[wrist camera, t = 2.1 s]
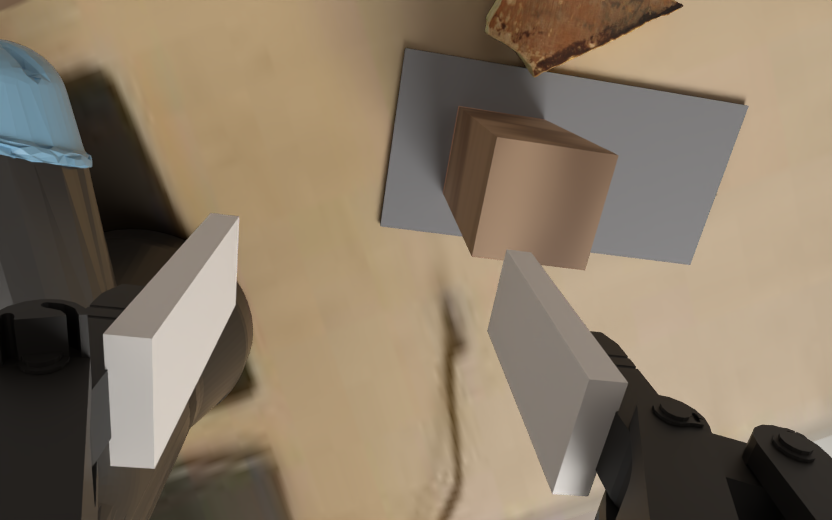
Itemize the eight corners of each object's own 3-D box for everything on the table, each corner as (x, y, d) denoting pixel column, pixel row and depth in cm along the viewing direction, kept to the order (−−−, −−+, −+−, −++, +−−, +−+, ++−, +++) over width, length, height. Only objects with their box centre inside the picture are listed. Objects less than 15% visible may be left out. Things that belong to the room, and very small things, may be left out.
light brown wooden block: (442, 193, 39) (471, 256, 28) (458, 105, 36) (496, 137, 25) (524, 204, 39) (584, 270, 28) (544, 119, 37) (618, 155, 26)
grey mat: (380, 224, 40) (380, 226, 39) (405, 47, 35) (405, 48, 35) (687, 262, 43) (690, 264, 42) (744, 105, 38) (748, 105, 38)
